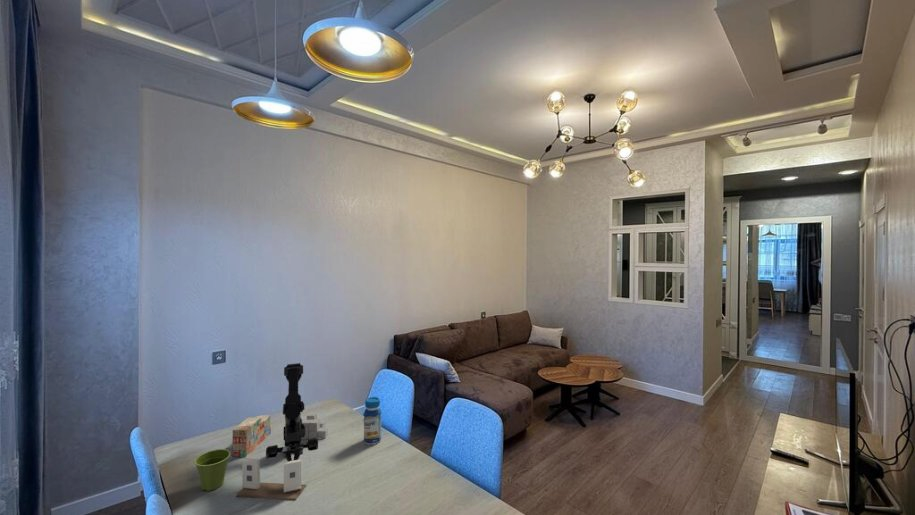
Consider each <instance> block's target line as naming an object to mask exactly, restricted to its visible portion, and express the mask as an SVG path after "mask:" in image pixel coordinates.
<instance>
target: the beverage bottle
mask: <svg viewBox="0 0 915 515" xmlns="http://www.w3.org/2000/svg"><path fill="white" fill-rule="evenodd" d="M380 401H381V400H380V398H379V397H376V396H372V397H368V398H366V399H365V403H364V404H365V410H364V412H363V442H364V443H365V444H366V445H369V444H372V445H377V444H379V443H380V442H381V441H382V421H383V420H382V418H383V417H382V410H381V408H380V405H381V402H380ZM378 442H379V443H378ZM376 443H377V444H376Z"/></svg>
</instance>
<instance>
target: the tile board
mask: <svg viewBox="0 0 915 515" xmlns="http://www.w3.org/2000/svg"><path fill="white" fill-rule="evenodd" d="M306 487H307V484H301V489H298V490H294V491H290V492H285V493H284V483H278V482H260V487H259V489H248V488H241V490H240V491H238V492H237V493H236V495H235V498H250V499H251V498H252V499H269V500H271V499H272V500H287V501H288V500H289V501H296V500H297V499H298V498H299V496H300V495H301V494H302V492H303V491H304V490H305V489H306Z"/></svg>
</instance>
